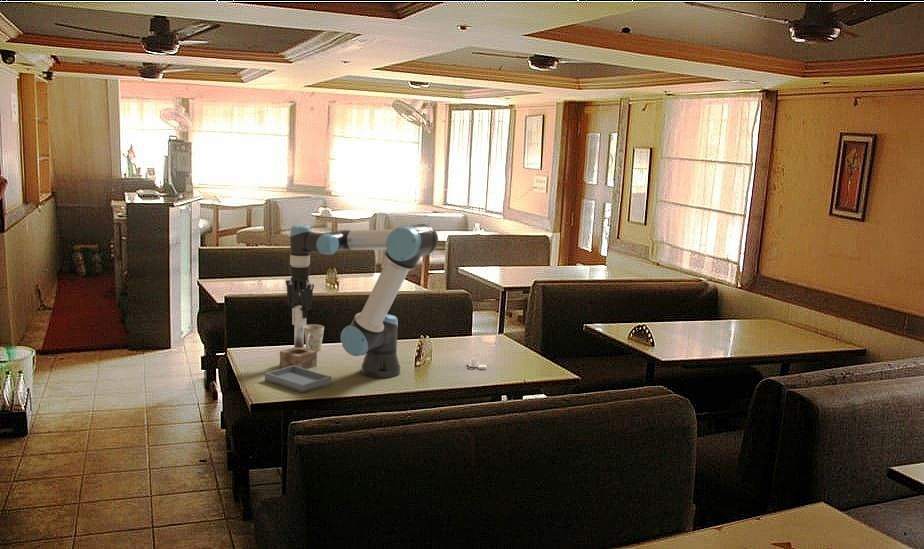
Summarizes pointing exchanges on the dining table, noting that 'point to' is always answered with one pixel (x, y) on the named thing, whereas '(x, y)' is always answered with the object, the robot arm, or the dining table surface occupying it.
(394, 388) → the dining table surface
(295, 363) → the wooden hollow square frame
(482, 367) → the teacup and saucer
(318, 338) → the mug
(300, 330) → the steel pin
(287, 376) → the slate tray
